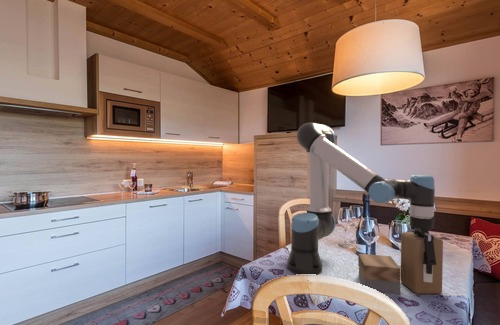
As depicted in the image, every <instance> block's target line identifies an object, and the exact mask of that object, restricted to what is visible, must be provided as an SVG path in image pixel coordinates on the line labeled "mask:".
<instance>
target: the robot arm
mask: <svg viewBox="0 0 500 325" xmlns="http://www.w3.org/2000/svg"><path fill="white" fill-rule="evenodd" d="M335 135H336V134H335V132H334V131H333V129H332V128H331V127H330V126H328V125H326V124H324V123H322V124H320V123H316V122H306V123H303V124H302V125H301V126H299V127H298V130H297V132H296V140H297V143H298V144H299V145H300V146H301V147H302V148H303V149H304V150H306V151H305V153H306V154H307V155H308V156H309V206H308V207H307V208H306V212H301V213H296V214H295V215H293V216H292V218H291V223H290V228H291V232H290V234H291V235H290V236H291V237H290V240H291V241H290V245H291V249H290V253H289V255H288V257H287V258H288V259H287V261H286V264H287V266H286V267H287V269H288V270H289V271H290V272H292V273H294V274H297V275H300V274H316V275H318V274H320V273H322V271H323V263H322V258H321V257H320V254H319V240H321V239H323V238H327V237H329V236H330V235H331V234H332V233H333V232H334V231H335V228H336V219H335V216H334V215H333V214H332V208H331V207H330V205H329V166H331V167H332V168H334V169H336V170H337V171H338V172H340V173H341V174H342V175H343V176H345V177H346V178H347V179H349V180H350V181H351V182H353V183H354V184H355V185H357V186H358V188H359V187H360V188H361V190H363V191H365V192H366V193H367V194H368V195H369V196H368V197H370V199H371V201H373V202H374V203H377V204H386V203H389V202H391V201H392V200H394V199H399V200H410V201H409V215H410V216H409V225H410V228H411V229H410V232H414V234H416V235H417V236H418V237H422V238H424V243H425V252H424V262H423V282H430V283H432V279H433V265H436V258H435V250H434V243H433V238H434V237H433V236H434V235H433V234H430V233H429V232H430V230H432V229H434V228H435V218H434V216H435V211H436V208H435V191H436V187H435V178H434V176H432V175H429V174H428V175H425V174H424V175H423V174H412V175H411V176H410V178H409V179H396V178H395V179H394V178H386V177H385V178H384V177H382V176H381V175H379V174H377V173H376V172H374V170H372V169H370V168H369V167H367V166H366V165H364V163H361V161H359V160H358V159H356V158H355V157H353V156H351V155H350V154H349V153H347V151H344V150H343V149H342V148H340V147H339V146H338V145H336V144H335V141H336V136H335Z"/></svg>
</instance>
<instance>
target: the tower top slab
mask: <svg viewBox="0 0 500 325" xmlns="http://www.w3.org/2000/svg"><path fill="white" fill-rule="evenodd" d="M357 256H358V262H357V263H358V269H359V268H360V271H361V273H362V275H363V277H364V279H371V280H381V281H391V282H401V266H399V265H398V264H397V263H396V261H395V260H394V259H393V258H392V256H391V255H382V254H379V255H378V254H367V253H358V255H357Z"/></svg>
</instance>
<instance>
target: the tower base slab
mask: <svg viewBox="0 0 500 325" xmlns="http://www.w3.org/2000/svg"><path fill="white" fill-rule="evenodd" d="M358 278H359V280H360V283H361V285H362V284H363V285H365V286H368V287H370V288H373V289H376V290H377V291H380V292H379V293H384V294H392V293H393V294H394V295H401V283H402V282H401V281H400V282H391V281H381V280H371V279H364V277H363V275H362V273H361V271H360V268H359V267H358ZM363 285H362V286H363Z"/></svg>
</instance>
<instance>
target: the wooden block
mask: <svg viewBox="0 0 500 325" xmlns="http://www.w3.org/2000/svg"><path fill="white" fill-rule="evenodd" d="M433 237H434V238H433V243H434V250H435V258H436V265H433V279H432V283H430V282H423V262H424V252H425V243H424V238H422V237H418V236H417V235H416V234H414V232H411V231H402V232H401V236H400V239H401V240H400V282H401V283H402V285H404V286H405V287H407V288H408V289H409V290H411V291H412V292H413V293H414V294H416V295H427V294H428V295H429V294H431V295H433V294H435V295H436V294H439V295H440V294H442V293H443V267H444V266H443V265H444V264H443V260H444V259H443V258H444V241H443V239H442V238H439V237H437V236H434V235H433Z"/></svg>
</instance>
